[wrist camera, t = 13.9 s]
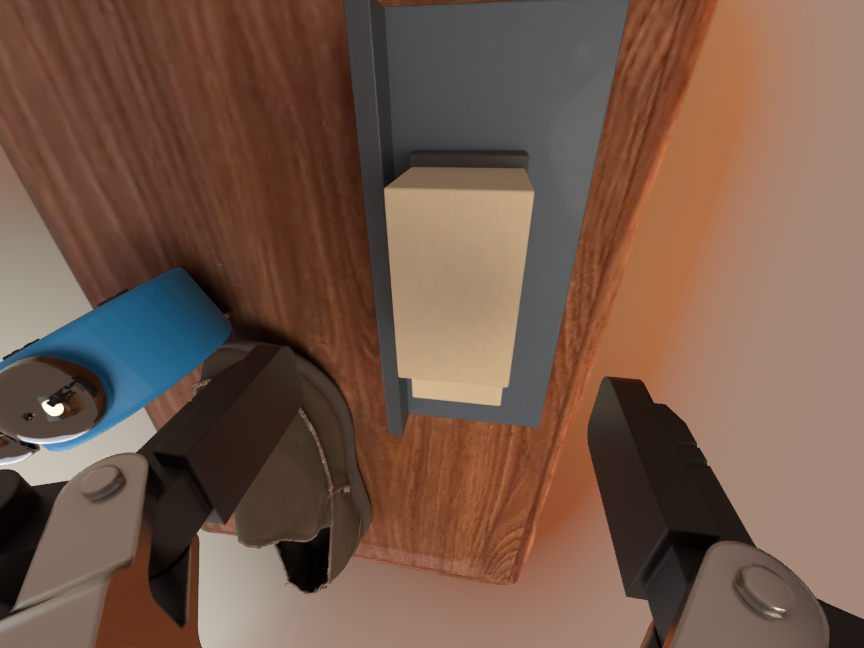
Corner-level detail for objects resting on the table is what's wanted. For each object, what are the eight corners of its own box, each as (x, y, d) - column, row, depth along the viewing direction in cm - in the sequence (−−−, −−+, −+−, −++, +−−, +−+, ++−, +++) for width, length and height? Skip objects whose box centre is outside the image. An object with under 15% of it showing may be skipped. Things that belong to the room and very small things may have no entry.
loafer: (309, 312, 30) (228, 403, 21) (403, 521, 44) (379, 628, 35) (203, 326, 32) (90, 412, 23) (324, 519, 47) (283, 618, 38)
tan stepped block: (414, 149, 16) (378, 171, 11) (526, 150, 16) (541, 173, 11) (421, 359, 23) (400, 432, 18) (501, 366, 22) (503, 444, 17)
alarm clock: (170, 354, 35) (-15, 497, 22) (118, 302, 32) (-124, 431, 20) (266, 307, 30) (99, 456, 17) (213, 242, 27) (-26, 362, 15)
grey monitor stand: (396, 32, 19) (341, -6, 12) (593, 25, 18) (652, -22, 11) (412, 361, 31) (388, 434, 24) (532, 372, 29) (542, 452, 23)
